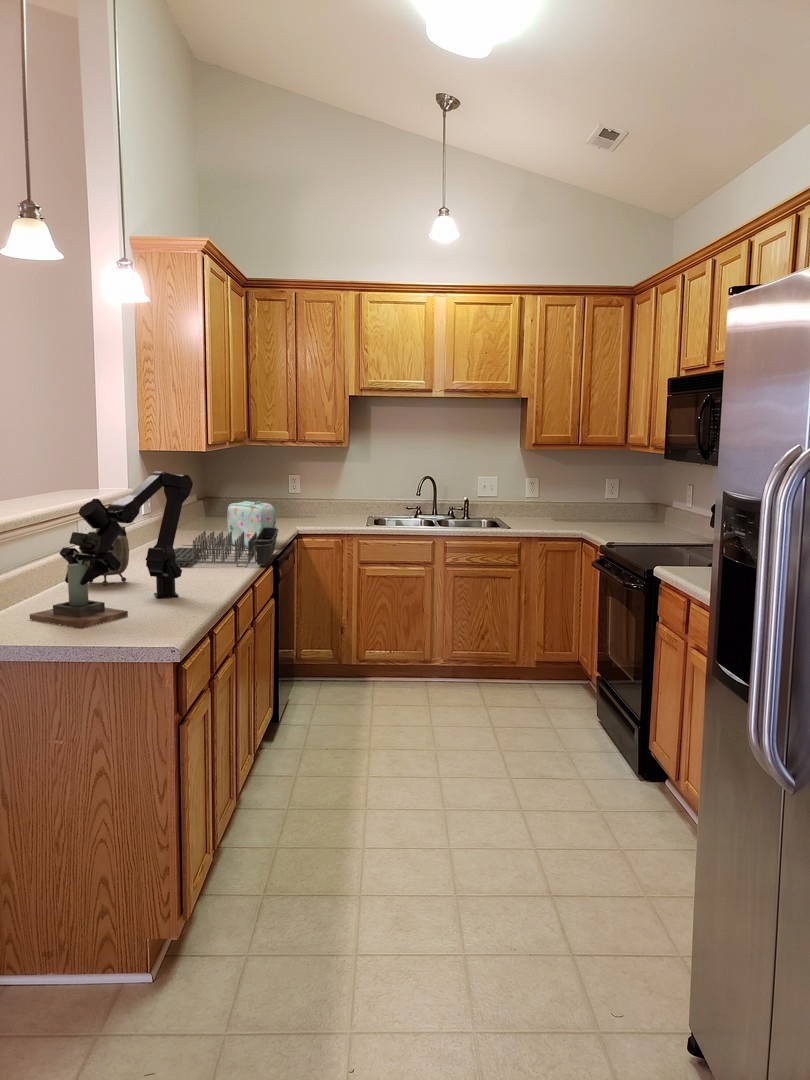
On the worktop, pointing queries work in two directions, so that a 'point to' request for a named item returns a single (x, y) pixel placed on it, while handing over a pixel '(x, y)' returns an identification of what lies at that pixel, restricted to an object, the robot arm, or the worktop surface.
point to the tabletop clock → (121, 553)
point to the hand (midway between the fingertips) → (73, 583)
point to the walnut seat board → (79, 614)
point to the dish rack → (256, 545)
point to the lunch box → (249, 519)
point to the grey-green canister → (77, 585)
